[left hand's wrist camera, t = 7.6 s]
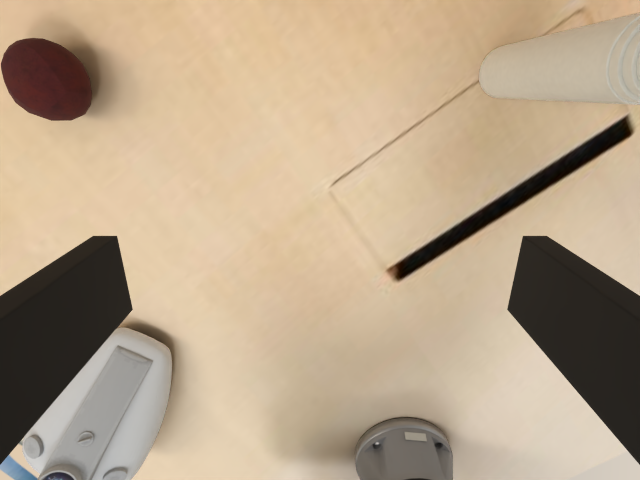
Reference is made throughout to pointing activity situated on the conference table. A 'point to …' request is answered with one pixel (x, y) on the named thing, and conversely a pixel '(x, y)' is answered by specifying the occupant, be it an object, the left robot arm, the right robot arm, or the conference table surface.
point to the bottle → (570, 65)
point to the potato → (46, 79)
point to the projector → (105, 413)
